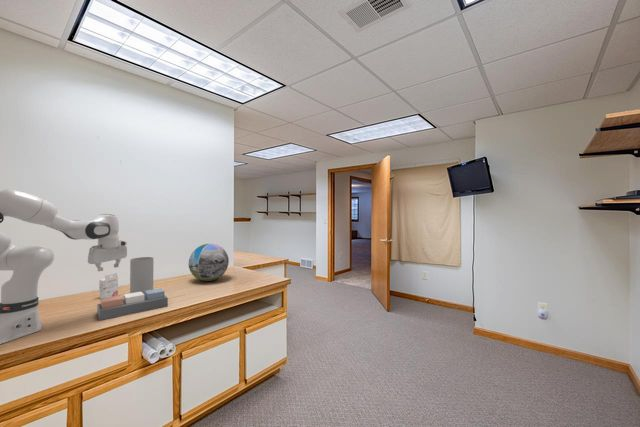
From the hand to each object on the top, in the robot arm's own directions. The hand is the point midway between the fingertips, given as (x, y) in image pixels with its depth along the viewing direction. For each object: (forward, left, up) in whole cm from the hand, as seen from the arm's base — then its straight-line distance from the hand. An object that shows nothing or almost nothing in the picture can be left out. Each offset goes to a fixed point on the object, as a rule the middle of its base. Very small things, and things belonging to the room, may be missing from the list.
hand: (108, 269), depth 143 cm
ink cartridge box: (+28, +23, -24) cm, 44 cm away
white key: (+6, -10, -20) cm, 23 cm away
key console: (+6, -10, -24) cm, 27 cm away
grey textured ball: (+71, -24, -24) cm, 79 cm away
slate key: (+13, -17, -20) cm, 29 cm away
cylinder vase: (+28, +1, -24) cm, 37 cm away
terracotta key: (-1, -3, -20) cm, 20 cm away
